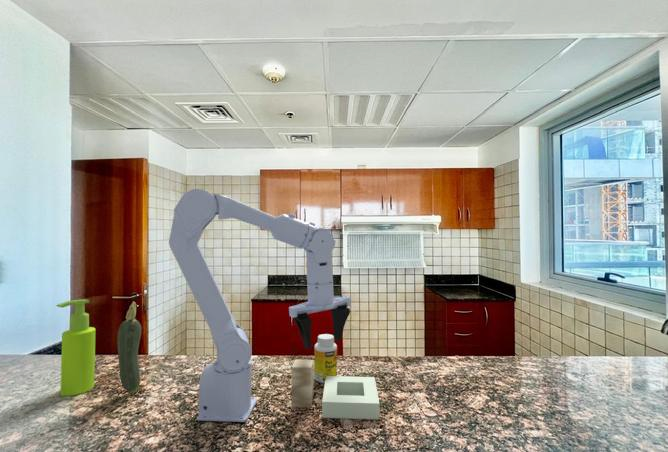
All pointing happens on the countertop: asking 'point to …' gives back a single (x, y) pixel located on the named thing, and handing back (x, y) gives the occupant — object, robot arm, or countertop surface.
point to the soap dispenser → (77, 352)
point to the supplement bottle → (325, 358)
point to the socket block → (350, 398)
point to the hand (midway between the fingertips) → (323, 343)
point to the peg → (302, 383)
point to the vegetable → (129, 351)
